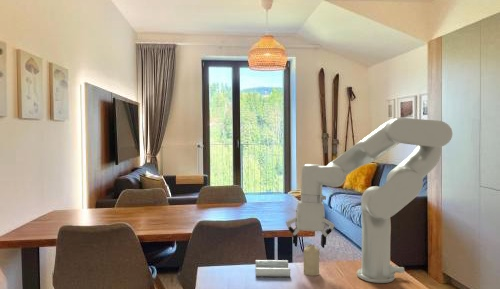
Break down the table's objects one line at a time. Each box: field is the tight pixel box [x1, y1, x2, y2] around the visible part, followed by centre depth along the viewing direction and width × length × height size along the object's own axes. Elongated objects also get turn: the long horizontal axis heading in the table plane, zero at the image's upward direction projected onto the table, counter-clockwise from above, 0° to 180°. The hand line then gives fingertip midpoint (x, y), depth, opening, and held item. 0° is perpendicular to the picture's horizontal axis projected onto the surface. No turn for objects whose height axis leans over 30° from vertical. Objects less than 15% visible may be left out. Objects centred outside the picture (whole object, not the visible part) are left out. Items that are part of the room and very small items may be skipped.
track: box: [255, 259, 291, 279], centre depth 136 cm, size 12×9×3 cm
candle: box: [303, 244, 320, 277], centre depth 136 cm, size 6×6×10 cm
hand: (309, 246), depth 136 cm, fingers open, 9 cm apart
